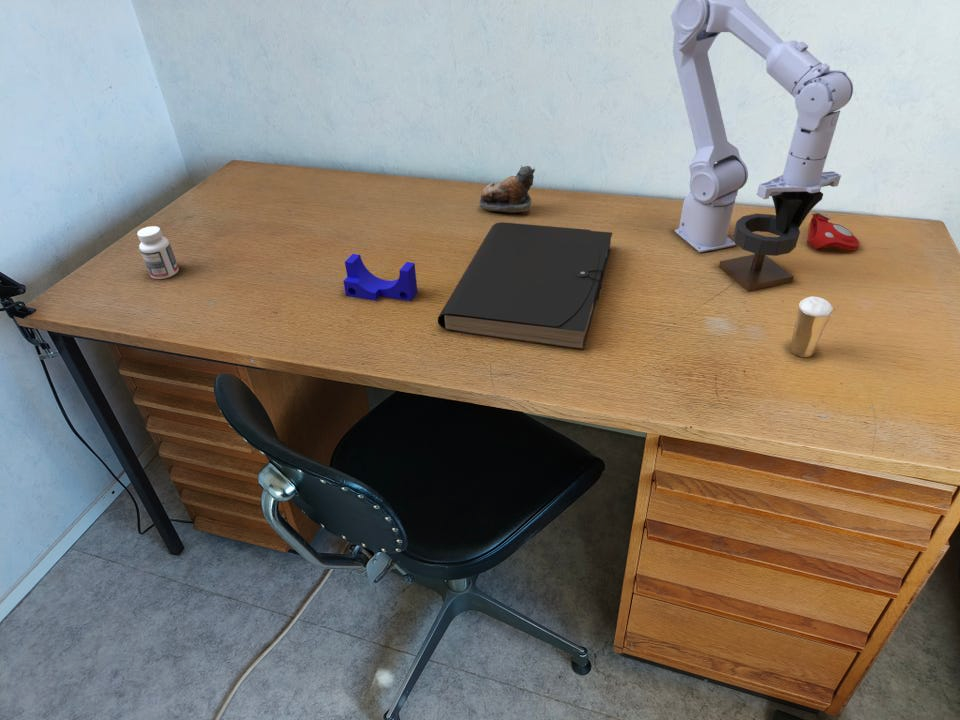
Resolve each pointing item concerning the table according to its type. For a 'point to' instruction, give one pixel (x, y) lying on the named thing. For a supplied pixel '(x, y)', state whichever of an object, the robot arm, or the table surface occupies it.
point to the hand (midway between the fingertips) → (786, 230)
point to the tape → (763, 243)
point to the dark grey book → (531, 285)
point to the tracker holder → (830, 233)
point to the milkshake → (810, 325)
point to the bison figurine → (509, 193)
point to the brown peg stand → (755, 272)
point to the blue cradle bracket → (378, 282)
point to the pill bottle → (157, 253)
